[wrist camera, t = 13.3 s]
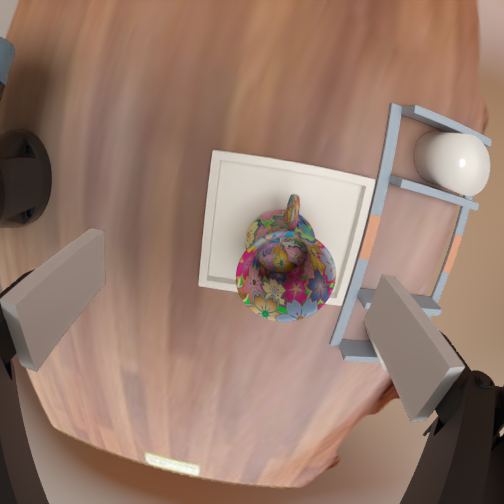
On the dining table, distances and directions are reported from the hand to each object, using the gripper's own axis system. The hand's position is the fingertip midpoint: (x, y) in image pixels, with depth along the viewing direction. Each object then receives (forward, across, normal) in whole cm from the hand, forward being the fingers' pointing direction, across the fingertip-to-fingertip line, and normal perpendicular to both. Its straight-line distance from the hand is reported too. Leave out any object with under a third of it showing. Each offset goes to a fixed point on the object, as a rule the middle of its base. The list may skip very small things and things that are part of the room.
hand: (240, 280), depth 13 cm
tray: (+24, +5, -5) cm, 25 cm away
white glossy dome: (+24, +23, +9) cm, 34 cm away
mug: (+23, +5, -5) cm, 24 cm away
